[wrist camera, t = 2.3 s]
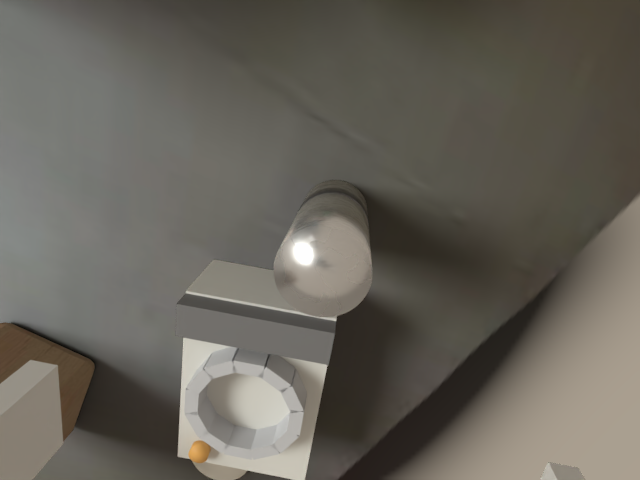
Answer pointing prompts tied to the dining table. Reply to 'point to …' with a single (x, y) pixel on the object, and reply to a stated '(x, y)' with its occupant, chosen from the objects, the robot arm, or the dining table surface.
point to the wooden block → (73, 369)
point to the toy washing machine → (249, 372)
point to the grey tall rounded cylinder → (326, 252)
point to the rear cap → (219, 471)
